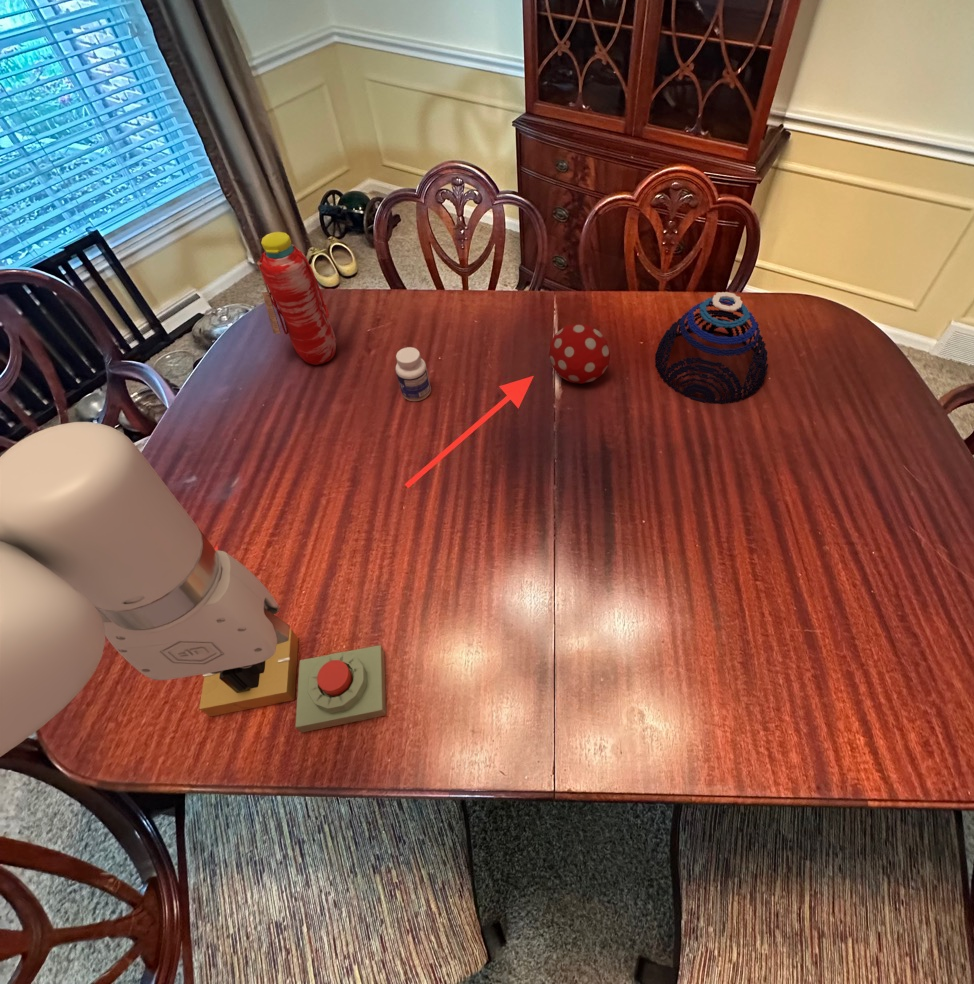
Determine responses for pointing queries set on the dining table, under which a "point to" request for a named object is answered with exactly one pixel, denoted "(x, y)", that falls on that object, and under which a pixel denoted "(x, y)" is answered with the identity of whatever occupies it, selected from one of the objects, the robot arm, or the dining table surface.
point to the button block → (351, 705)
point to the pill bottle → (412, 374)
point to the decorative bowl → (714, 350)
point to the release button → (334, 677)
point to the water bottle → (296, 299)
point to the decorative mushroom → (579, 353)
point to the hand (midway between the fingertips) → (251, 672)
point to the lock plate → (271, 688)
